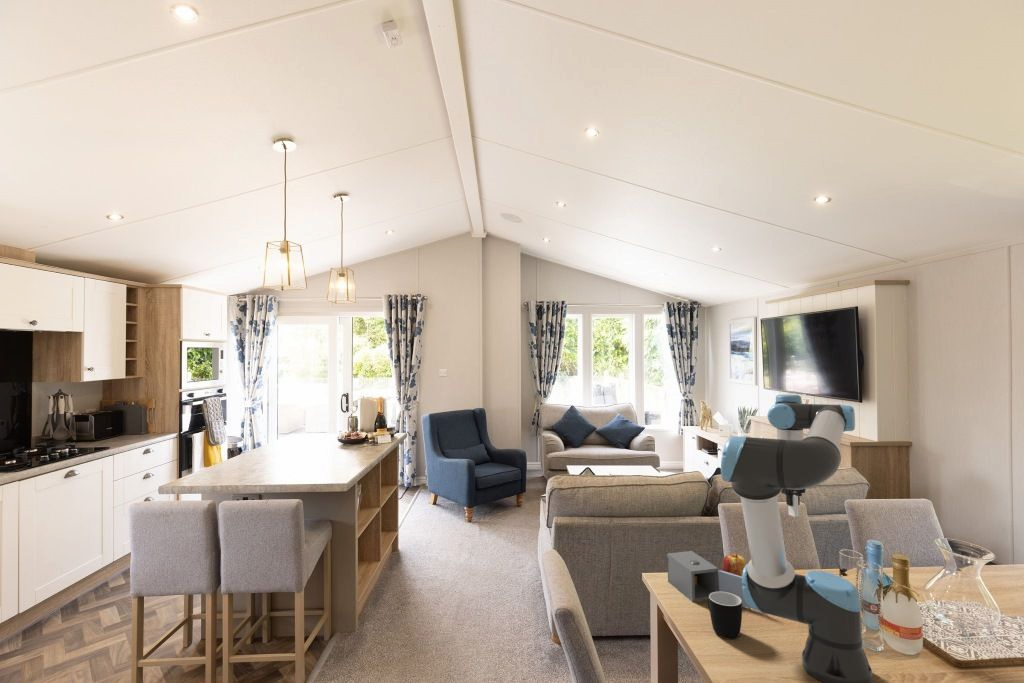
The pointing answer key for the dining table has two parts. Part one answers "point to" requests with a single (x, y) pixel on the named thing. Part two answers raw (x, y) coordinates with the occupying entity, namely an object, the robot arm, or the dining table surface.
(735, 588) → the door
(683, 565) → the case
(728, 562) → the apple
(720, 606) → the mug
